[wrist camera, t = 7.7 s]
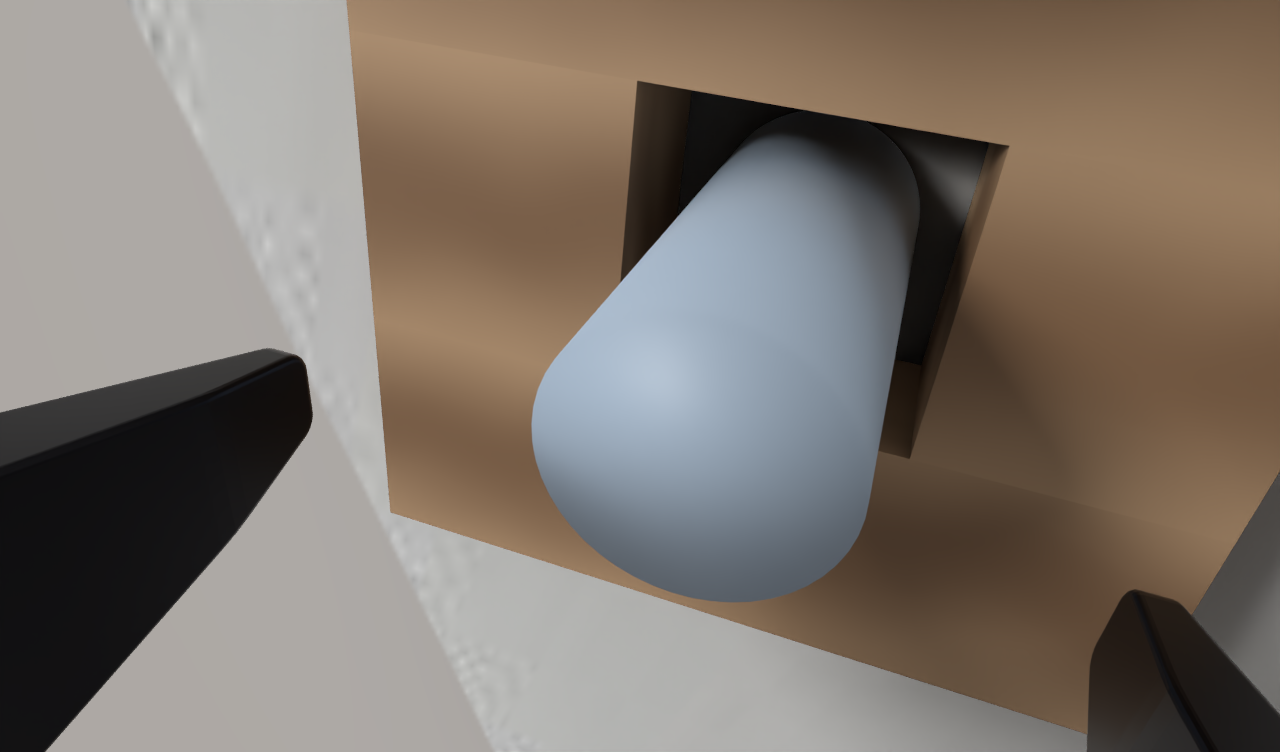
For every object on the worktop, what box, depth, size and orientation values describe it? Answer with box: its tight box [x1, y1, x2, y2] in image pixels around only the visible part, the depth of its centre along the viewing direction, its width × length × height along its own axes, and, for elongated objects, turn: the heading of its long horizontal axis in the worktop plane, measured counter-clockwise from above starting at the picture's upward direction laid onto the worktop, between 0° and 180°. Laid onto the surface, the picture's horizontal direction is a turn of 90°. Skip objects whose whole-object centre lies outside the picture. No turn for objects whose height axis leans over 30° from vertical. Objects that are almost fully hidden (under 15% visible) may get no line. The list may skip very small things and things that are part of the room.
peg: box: [531, 110, 920, 602], centre depth 14 cm, size 4×4×9 cm
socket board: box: [347, 0, 1280, 734], centre depth 16 cm, size 16×16×4 cm
